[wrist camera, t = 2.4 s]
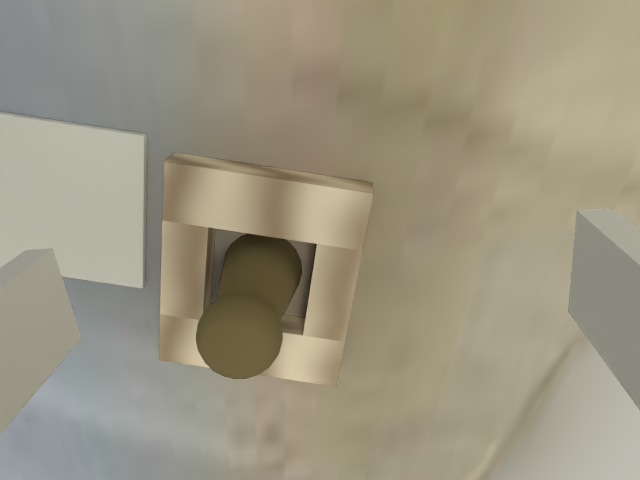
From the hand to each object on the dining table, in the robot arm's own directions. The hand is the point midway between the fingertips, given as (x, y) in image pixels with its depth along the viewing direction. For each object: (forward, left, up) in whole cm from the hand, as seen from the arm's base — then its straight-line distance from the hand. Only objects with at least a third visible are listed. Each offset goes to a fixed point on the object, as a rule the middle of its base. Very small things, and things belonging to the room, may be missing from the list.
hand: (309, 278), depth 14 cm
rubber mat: (-19, -9, -24) cm, 32 cm away
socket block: (-4, -12, -24) cm, 28 cm away
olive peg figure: (-4, -12, -25) cm, 28 cm away
